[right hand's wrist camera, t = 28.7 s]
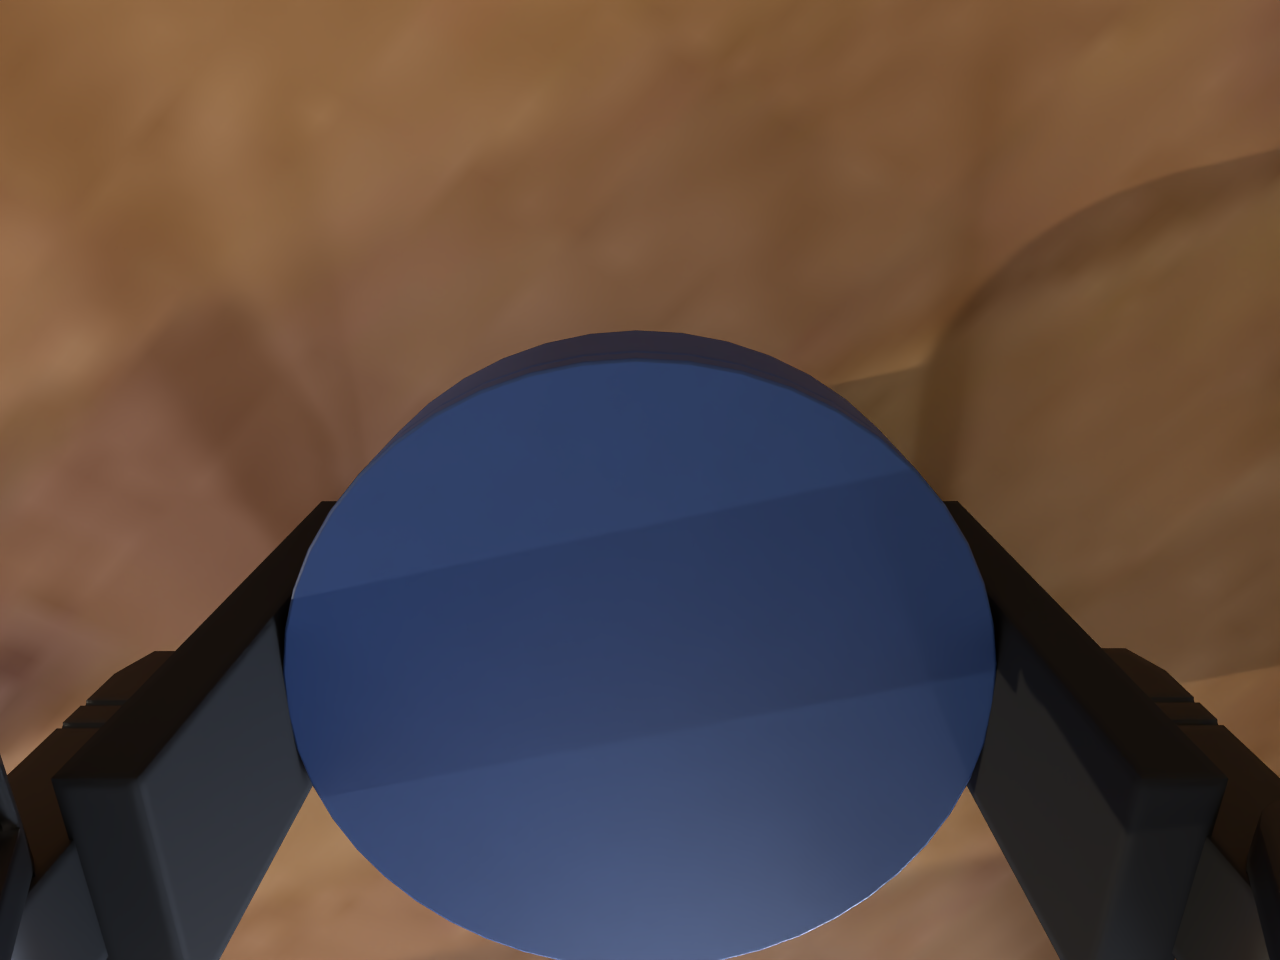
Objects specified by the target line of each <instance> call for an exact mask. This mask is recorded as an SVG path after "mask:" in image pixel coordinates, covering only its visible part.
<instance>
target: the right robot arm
mask: <svg viewBox="0 0 1280 960" xmlns="http://www.w3.org/2000/svg"><path fill="white" fill-rule="evenodd" d="M336 502H337V501H322V502H321V503H320V504H319V505H318V506H317V507H316V508H315V509H314V510H313V511H312V512H311V513H310V514H309V515H308V516H307V517H306V518H305V519H304V520H303V521H302V522H301V523H300V524H299V525H298V526H297V527H296V528H295V529H294V530H293V531H292V532H291V533H290V534H289V535H288V536H287V537H286V538H285V539H284V541H283V542H282V543H281V544H280V545H279V546H278V547H277V548H276V549H275V550H274V551H273V552H272V553H271V554H270V555H269V556H268V557H267V558H266V559H265V560H264V561H263V562H262V563H261V564H260V565H259V566H258V567H257V568H256V569H255V570H254V571H253V572H252V573H251V574H250V575H249V576H248V577H247V578H246V579H245V580H244V581H243V582H242V583H241V584H240V586H239V587H238V588H237V589H236V590H235V591H234V592H233V593H232V594H231V595H230V596H229V597H228V598H227V599H226V600H225V601H224V602H223V603H222V604H221V605H220V606H219V607H218V608H217V609H216V610H215V611H214V612H213V613H212V614H211V615H210V616H209V617H208V618H207V619H206V620H205V621H204V622H203V623H202V624H201V625H200V626H199V627H198V628H197V629H196V631H195V632H194V633H193V634H192V635H191V636H190V637H189V638H188V639H187V640H186V641H185V642H184V643H183V644H182V645H181V646H180V647H179V648H178V649H177V650H176V651H154V652H152V653H150V654H149V655H147V656H145V657H143V658H142V659H140V660H138V661H136V662H135V663H133V664H131V665H129V666H127V667H126V668H124V669H122V670H120V671H119V672H117V673H115V674H114V675H113V676H112V677H111V678H110V679H109V680H107V681H106V682H105V683H104V684H103V685H102V686H101V687H100V688H99V689H98V690H97V691H96V692H95V693H94V694H93V695H92V696H91V697H90V698H88V699H87V700H86V702H87V703H86V706H80V707H79V708H78V709H77V710H76V711H75V712H74V713H73V714H72V715H71V716H69V717H68V718H67V719H66V720H65V721H64V722H63V727H62V729H56V730H55V731H54V732H53V733H52V734H50V735H49V736H48V737H47V738H46V739H45V740H44V741H43V742H42V743H41V744H40V745H39V746H38V747H37V748H36V749H35V750H34V751H33V752H31V753H30V754H29V755H28V756H27V757H26V758H25V759H24V760H23V761H22V762H21V763H20V764H19V765H18V766H17V767H16V768H15V769H14V770H12V771H11V772H10V773H9V774H8V775H7V774H6V771H5V768H4V765H3V762H2V758H1V755H0V960H219V959H220V957H221V955H222V953H223V951H224V950H225V948H226V946H227V944H228V942H229V940H230V938H231V937H232V935H233V933H234V931H235V929H236V927H237V925H238V924H239V922H240V920H241V918H242V916H243V914H244V912H245V911H246V909H247V907H248V905H249V903H250V901H251V899H252V897H253V896H254V894H255V892H256V890H257V888H258V886H259V884H260V883H261V881H262V879H263V877H264V875H265V873H266V871H267V870H268V868H269V866H270V864H271V862H272V860H273V858H274V857H275V855H276V853H277V851H278V849H279V847H280V845H281V844H282V842H283V840H284V838H285V836H286V834H287V832H288V830H289V829H290V827H291V825H292V823H293V821H294V819H295V817H296V816H297V814H298V812H299V810H300V808H301V806H302V804H303V803H304V801H305V799H306V797H307V795H308V793H309V791H310V790H311V788H312V786H313V785H312V783H311V780H310V778H309V775H308V773H307V771H306V768H305V766H304V764H303V761H302V759H301V757H300V754H299V752H298V750H297V746H296V742H295V738H294V735H293V730H292V724H291V719H290V714H289V708H288V702H287V696H286V689H285V683H284V676H283V660H284V639H285V627H286V622H287V617H288V612H289V607H290V603H291V598H292V593H293V588H294V586H295V583H296V581H297V578H298V575H299V573H300V570H301V567H302V565H303V562H304V559H305V557H306V554H307V551H308V549H309V547H310V545H311V543H312V542H313V540H314V538H315V536H316V535H317V533H318V531H319V529H320V528H321V526H322V524H323V522H324V521H325V519H326V517H327V515H328V513H329V512H330V510H331V509H332V508H333V506H334V505H335V504H336ZM943 503H944V504H945V505H946V507H947V508H948V510H949V512H950V513H951V515H952V517H953V518H954V520H955V522H956V523H957V525H958V527H959V528H960V530H961V532H962V533H963V535H964V537H965V538H966V540H967V542H968V544H969V546H970V549H971V551H972V554H973V556H974V559H975V561H976V564H977V566H978V568H979V571H980V573H981V576H982V578H983V581H984V584H985V588H986V592H987V597H988V601H989V605H990V610H991V614H992V618H993V622H994V634H995V648H996V662H997V666H996V678H995V686H994V693H993V699H992V706H991V711H990V716H989V722H988V727H987V732H986V738H985V742H984V745H983V748H982V750H981V753H980V755H979V758H978V760H977V763H976V765H975V768H974V770H973V773H972V775H971V778H970V780H969V782H968V784H967V787H968V789H969V791H970V792H971V794H972V796H973V798H974V800H975V802H976V804H977V805H978V807H979V809H980V811H981V813H982V815H983V817H984V818H985V820H986V822H987V824H988V826H989V828H990V830H991V831H992V833H993V835H994V837H995V839H996V841H997V843H998V845H999V846H1000V848H1001V850H1002V852H1003V854H1004V856H1005V858H1006V859H1007V861H1008V863H1009V865H1010V867H1011V869H1012V871H1013V872H1014V874H1015V876H1016V878H1017V880H1018V882H1019V884H1020V885H1021V887H1022V889H1023V891H1024V893H1025V895H1026V897H1027V899H1028V900H1029V902H1030V904H1031V906H1032V908H1033V910H1034V912H1035V913H1036V915H1037V917H1038V919H1039V921H1040V923H1041V925H1042V926H1043V928H1044V930H1045V932H1046V934H1047V936H1048V938H1049V939H1050V941H1051V943H1052V945H1053V947H1054V949H1055V951H1056V952H1057V954H1058V956H1059V958H1060V960H1174V959H1175V958H1176V960H1280V778H1279V777H1278V776H1277V775H1276V774H1275V773H1274V772H1273V771H1271V770H1270V769H1269V768H1268V767H1267V766H1266V765H1265V764H1264V763H1263V762H1262V761H1261V760H1260V759H1259V758H1258V757H1257V756H1256V755H1254V754H1253V753H1252V752H1251V751H1250V750H1249V749H1248V748H1247V747H1246V746H1245V745H1244V744H1243V743H1242V742H1241V741H1240V740H1239V739H1237V738H1236V737H1235V736H1234V735H1233V734H1232V733H1231V732H1230V731H1229V730H1228V729H1227V728H1226V727H1225V726H1224V725H1218V723H1217V719H1216V718H1215V717H1214V716H1213V715H1212V714H1211V713H1210V712H1209V711H1208V710H1207V709H1206V708H1205V707H1203V706H1202V705H1201V704H1200V703H1195V702H1194V697H1193V696H1192V695H1191V694H1190V693H1189V692H1188V691H1186V690H1185V689H1184V688H1183V687H1182V686H1181V685H1180V684H1179V683H1178V682H1177V681H1176V680H1175V679H1174V678H1173V677H1172V676H1171V675H1169V674H1168V673H1167V672H1166V671H1165V670H1163V669H1161V668H1160V667H1158V666H1156V665H1154V664H1152V663H1151V662H1149V661H1147V660H1145V659H1144V658H1142V657H1140V656H1138V655H1136V654H1135V653H1133V652H1131V651H1129V650H1128V649H1126V648H1101V647H1100V646H1099V645H1098V644H1097V643H1096V642H1095V641H1094V640H1093V639H1092V638H1091V637H1090V636H1089V635H1088V634H1087V633H1086V632H1085V631H1084V630H1083V629H1082V628H1081V627H1080V626H1079V625H1078V624H1077V623H1076V622H1075V621H1074V620H1073V619H1072V618H1071V617H1070V616H1069V615H1068V614H1067V613H1066V612H1065V611H1064V610H1063V609H1062V608H1061V607H1060V606H1059V605H1058V603H1057V602H1056V601H1055V600H1054V599H1053V598H1052V597H1051V596H1050V595H1049V594H1048V593H1047V592H1046V591H1045V590H1044V589H1043V588H1042V587H1041V586H1040V585H1039V584H1038V583H1037V582H1036V581H1035V580H1034V579H1033V578H1032V577H1031V576H1030V575H1029V574H1028V573H1027V572H1026V571H1025V570H1024V569H1023V568H1022V567H1021V566H1020V565H1019V564H1018V563H1017V562H1016V561H1015V560H1014V558H1013V557H1012V556H1011V555H1010V554H1009V553H1008V552H1007V551H1006V550H1005V549H1004V548H1003V547H1002V546H1001V545H1000V544H999V543H998V542H997V541H996V540H995V539H994V538H993V537H992V536H991V535H990V534H989V533H988V532H987V531H986V530H985V529H984V528H983V527H982V526H981V525H980V524H979V523H978V522H977V521H976V520H975V519H974V518H973V517H972V516H971V515H970V513H969V512H968V511H967V510H966V509H965V508H964V507H963V506H962V505H961V504H960V503H959V502H958V501H943Z"/></svg>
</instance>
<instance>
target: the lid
mask: <svg viewBox="0 0 1280 960" xmlns="http://www.w3.org/2000/svg"><path fill="white" fill-rule="evenodd" d="M996 666H997V662H996V648H995V634H994V622H993V618H992V614H991V610H990V605H989V601H988V597H987V592H986V588H985V584H984V581H983V578H982V576H981V573H980V571H979V568H978V566H977V564H976V561H975V559H974V556H973V554H972V551H971V549H970V546H969V544H968V542H967V540H966V538H965V537H964V535H963V533H962V532H961V530H960V528H959V527H958V525H957V523H956V522H955V520H954V518H953V517H952V515H951V513H950V512H949V510H948V508H947V507H946V505H945V504H944V503H943V501H942V500H941V499H940V498H939V497H938V495H937V494H936V493H935V492H934V490H933V489H932V488H931V487H930V486H929V484H928V483H927V482H926V481H925V480H924V478H923V477H922V476H921V475H920V474H919V472H918V471H917V470H916V469H915V468H914V467H913V466H912V464H911V463H910V462H909V461H908V460H907V459H906V458H905V457H904V456H903V455H902V454H901V453H900V452H899V451H898V450H897V448H896V447H895V446H894V445H893V444H892V443H891V442H890V441H889V440H888V439H887V438H886V437H885V436H884V435H883V434H882V432H881V431H880V430H879V429H878V428H877V427H876V426H875V425H874V424H872V423H871V422H870V421H869V420H868V419H867V418H866V417H865V416H864V415H862V414H861V413H860V412H859V411H858V410H857V409H856V408H855V407H854V406H852V405H851V404H850V403H849V402H848V401H847V400H846V399H844V398H843V397H841V396H840V395H838V394H837V393H835V392H834V391H833V390H831V389H830V388H828V387H827V386H825V385H824V384H822V383H821V382H819V381H818V380H816V379H815V378H813V377H812V376H810V375H808V374H806V373H804V372H802V371H800V370H798V369H796V368H794V367H792V366H790V365H788V364H786V363H784V362H782V361H780V360H778V359H776V358H774V357H772V356H769V355H766V354H763V353H760V352H757V351H754V350H751V349H748V348H745V347H742V346H739V345H736V344H733V343H730V342H727V341H722V340H716V339H711V338H706V337H700V336H695V335H690V334H685V333H672V332H654V331H623V332H610V333H597V334H588V335H583V336H578V337H574V338H569V339H564V340H559V341H555V342H550V343H545V344H542V345H540V346H537V347H534V348H531V349H528V350H525V351H523V352H520V353H517V354H514V355H511V356H509V357H506V358H503V359H501V360H499V361H497V362H495V363H493V364H491V365H489V366H487V367H486V368H484V369H482V370H480V371H478V372H476V373H474V374H472V375H470V376H468V377H466V378H464V379H463V380H461V381H460V382H458V383H457V384H456V385H454V386H453V387H451V388H450V389H449V390H447V391H446V392H444V393H443V394H441V395H440V396H439V397H437V398H436V399H434V400H433V401H432V402H430V403H429V404H428V405H427V406H426V407H424V408H423V409H422V410H421V411H420V412H419V413H418V414H417V415H416V416H415V417H414V418H413V419H412V420H411V421H410V422H409V423H408V424H406V425H405V426H404V427H403V428H402V429H401V430H400V431H399V432H398V433H397V434H396V435H395V436H394V437H393V438H392V439H391V441H390V442H389V443H388V444H387V445H386V446H385V447H384V448H383V449H382V450H381V451H380V452H379V453H378V454H377V455H376V456H375V458H374V459H373V460H372V461H371V462H370V463H369V464H368V465H367V466H366V467H365V468H364V469H363V470H362V471H361V472H360V473H359V475H358V476H357V477H356V478H355V480H354V481H353V482H352V483H351V485H350V486H349V487H348V489H347V490H346V491H345V492H344V494H343V495H342V496H341V497H340V499H339V500H338V501H337V502H336V504H335V505H334V506H333V508H332V509H331V510H330V512H329V513H328V515H327V517H326V519H325V521H324V522H323V524H322V526H321V528H320V529H319V531H318V533H317V535H316V536H315V538H314V540H313V542H312V543H311V545H310V547H309V549H308V551H307V554H306V557H305V559H304V562H303V565H302V567H301V570H300V573H299V575H298V578H297V581H296V583H295V586H294V588H293V593H292V598H291V603H290V607H289V612H288V617H287V622H286V627H285V639H284V660H283V676H284V683H285V689H286V696H287V702H288V708H289V714H290V719H291V724H292V730H293V735H294V738H295V742H296V746H297V750H298V752H299V754H300V757H301V759H302V761H303V764H304V766H305V768H306V771H307V773H308V775H309V778H310V780H311V783H312V785H313V787H314V788H315V790H316V792H317V793H318V795H319V797H320V798H321V800H322V802H323V803H324V805H325V807H326V808H327V810H328V812H329V813H330V815H331V817H332V818H333V820H334V821H335V822H336V824H337V825H338V826H339V827H340V829H341V830H342V831H343V832H344V834H345V835H346V836H347V837H348V839H349V840H350V841H351V842H352V844H353V845H354V846H355V847H356V849H357V850H358V851H359V852H360V853H361V854H362V855H363V856H364V857H365V858H366V859H367V860H368V861H369V862H370V863H371V864H372V865H373V866H374V867H376V868H377V869H378V870H379V871H380V872H381V873H382V874H383V875H384V876H385V877H386V878H387V879H388V880H390V881H391V882H392V883H394V884H395V885H396V886H398V887H399V888H400V889H401V890H403V891H404V892H405V893H407V894H408V895H409V896H410V897H412V898H413V899H414V900H416V901H417V902H419V903H420V904H422V905H424V906H425V907H427V908H429V909H430V910H432V911H434V912H435V913H437V914H438V915H440V916H442V917H443V918H445V919H447V920H448V921H450V922H452V923H454V924H456V925H459V926H461V927H463V928H465V929H467V930H469V931H471V932H473V933H476V934H478V935H480V936H482V937H484V938H486V939H489V940H492V941H495V942H498V943H501V944H503V945H506V946H509V947H512V948H515V949H518V950H521V951H523V952H528V953H532V954H536V955H540V956H544V957H548V958H552V959H557V960H724V959H728V958H732V957H736V956H740V955H744V954H747V953H751V952H755V951H759V950H763V949H765V948H768V947H771V946H774V945H776V944H779V943H782V942H784V941H787V940H790V939H793V938H795V937H798V936H800V935H802V934H805V933H807V932H809V931H811V930H813V929H815V928H817V927H819V926H821V925H823V924H825V923H827V922H829V921H831V920H833V919H835V918H837V917H838V916H840V915H841V914H843V913H845V912H846V911H848V910H849V909H851V908H853V907H854V906H856V905H857V904H859V903H860V902H862V901H864V900H865V899H867V898H868V897H870V896H871V895H872V894H873V893H875V892H876V891H877V890H878V889H880V888H881V887H882V886H883V885H885V884H886V883H887V882H888V881H890V880H891V879H892V878H893V877H895V876H896V875H897V874H898V873H899V872H900V871H901V870H902V869H903V868H904V867H905V866H906V865H907V864H908V863H909V862H910V861H911V860H912V859H913V858H914V857H915V856H916V855H917V854H918V853H919V852H920V851H921V850H922V849H923V848H924V847H925V846H926V845H927V844H928V842H929V841H930V840H931V838H932V837H933V836H934V834H935V833H936V832H937V831H938V829H939V828H940V827H941V825H942V824H943V823H944V821H945V820H946V819H947V817H948V816H949V815H950V813H951V812H952V810H953V808H954V806H955V805H956V803H957V801H958V799H959V798H960V796H961V794H962V792H963V791H964V789H965V787H966V785H967V784H968V782H969V780H970V778H971V775H972V773H973V770H974V768H975V765H976V763H977V760H978V758H979V755H980V753H981V750H982V748H983V745H984V742H985V738H986V732H987V727H988V722H989V716H990V711H991V706H992V699H993V693H994V686H995V678H996Z"/></svg>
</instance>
